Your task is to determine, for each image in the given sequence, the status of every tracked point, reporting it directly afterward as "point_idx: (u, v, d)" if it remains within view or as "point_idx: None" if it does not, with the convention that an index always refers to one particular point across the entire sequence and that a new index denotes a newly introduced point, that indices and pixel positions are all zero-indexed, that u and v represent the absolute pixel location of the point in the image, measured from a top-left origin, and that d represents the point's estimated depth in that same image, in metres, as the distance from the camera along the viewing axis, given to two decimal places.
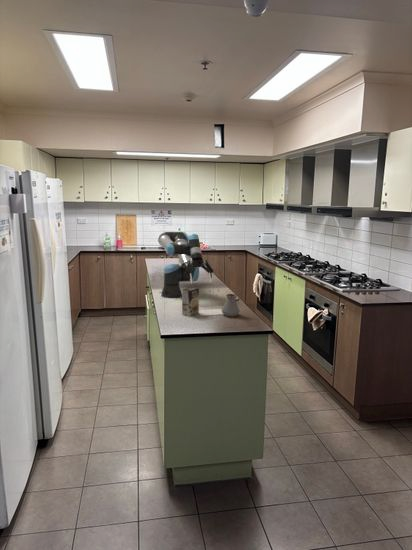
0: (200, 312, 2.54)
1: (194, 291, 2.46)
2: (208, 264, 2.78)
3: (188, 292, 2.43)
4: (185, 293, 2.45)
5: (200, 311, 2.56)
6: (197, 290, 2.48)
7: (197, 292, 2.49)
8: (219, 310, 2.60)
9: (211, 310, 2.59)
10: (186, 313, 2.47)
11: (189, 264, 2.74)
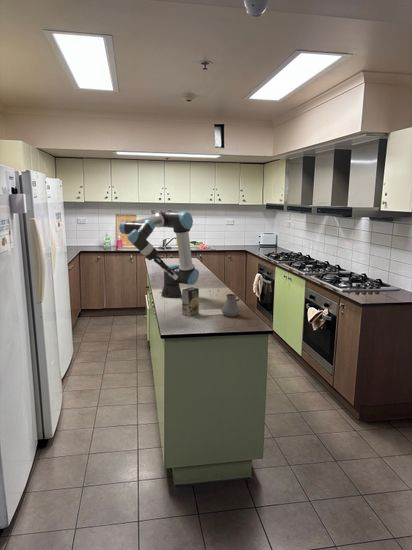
0: (200, 312, 2.54)
1: (194, 291, 2.46)
2: (160, 265, 2.32)
3: (188, 292, 2.43)
4: (185, 293, 2.45)
5: (200, 311, 2.56)
6: (197, 290, 2.48)
7: (197, 292, 2.49)
8: (219, 310, 2.60)
9: (211, 310, 2.59)
10: (186, 313, 2.47)
11: None
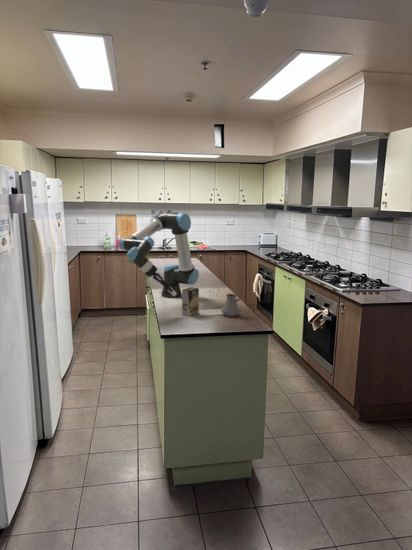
0: (200, 312, 2.54)
1: (194, 291, 2.46)
2: None
3: (188, 292, 2.43)
4: (185, 293, 2.45)
5: (200, 311, 2.56)
6: (197, 290, 2.48)
7: (197, 292, 2.49)
8: (219, 310, 2.60)
9: (211, 310, 2.59)
10: (186, 313, 2.47)
11: None
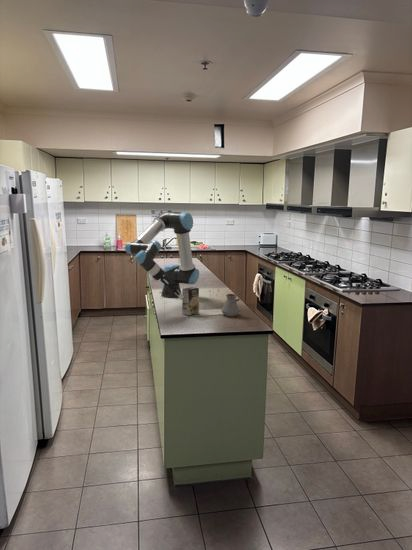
0: (200, 312, 2.54)
1: (194, 290, 2.47)
2: (168, 286, 2.38)
3: (188, 291, 2.44)
4: (185, 292, 2.46)
5: (200, 311, 2.56)
6: (197, 289, 2.50)
7: (197, 291, 2.50)
8: (219, 310, 2.60)
9: (211, 310, 2.59)
10: (186, 312, 2.47)
11: None
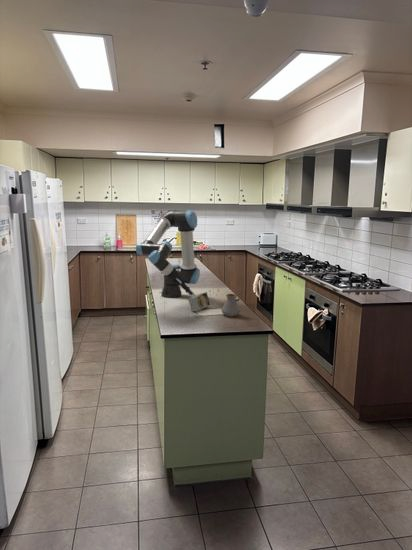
0: (200, 312, 2.54)
1: (207, 299, 2.66)
2: (181, 286, 2.40)
3: None
4: (201, 293, 2.67)
5: (200, 311, 2.56)
6: (209, 303, 2.66)
7: (208, 303, 2.65)
8: (219, 310, 2.60)
9: (211, 310, 2.59)
10: None
11: None
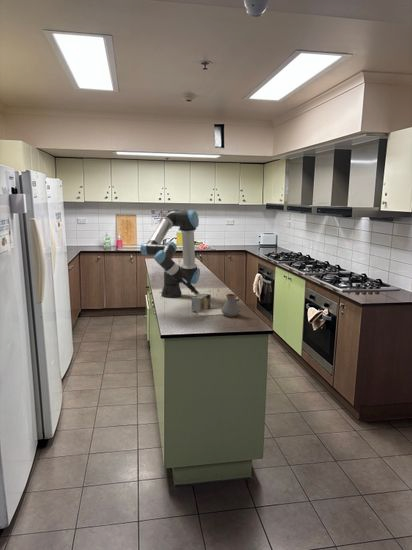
0: (200, 312, 2.54)
1: (209, 301, 2.66)
2: (187, 285, 2.42)
3: (208, 294, 2.66)
4: (204, 294, 2.66)
5: None
6: (209, 305, 2.67)
7: (209, 305, 2.65)
8: (219, 310, 2.60)
9: (211, 310, 2.59)
10: (197, 297, 2.54)
11: None
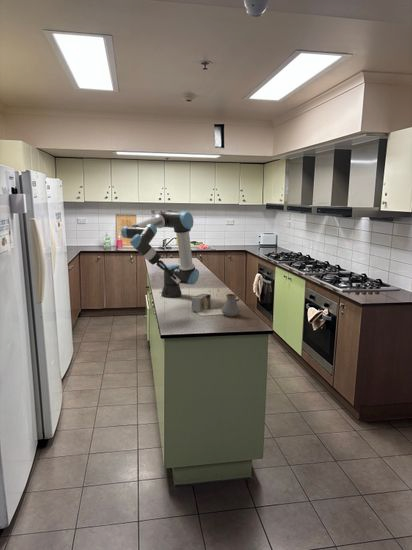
0: (200, 312, 2.54)
1: (209, 301, 2.66)
2: (164, 270, 2.35)
3: (208, 294, 2.66)
4: (204, 294, 2.66)
5: None
6: (209, 305, 2.67)
7: (209, 305, 2.65)
8: (219, 310, 2.60)
9: (211, 310, 2.59)
10: (197, 297, 2.54)
11: None
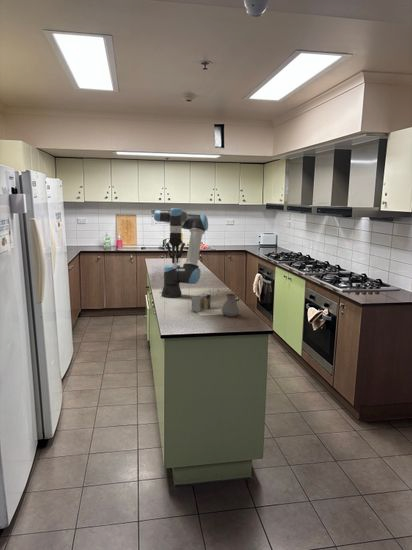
0: (200, 312, 2.54)
1: (209, 301, 2.66)
2: (182, 248, 2.59)
3: (208, 294, 2.66)
4: (204, 294, 2.66)
5: None
6: (209, 305, 2.67)
7: (209, 305, 2.65)
8: (219, 310, 2.60)
9: (211, 310, 2.59)
10: (197, 297, 2.54)
11: (169, 247, 2.56)
